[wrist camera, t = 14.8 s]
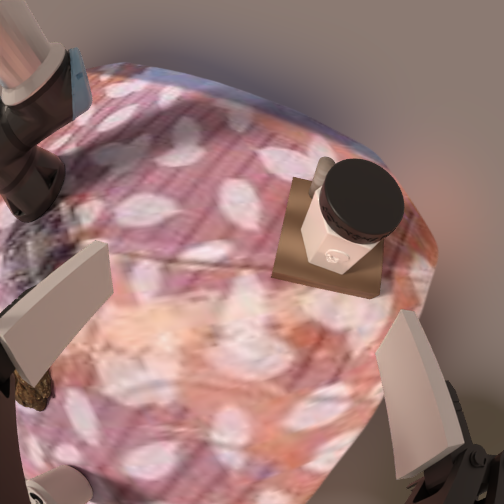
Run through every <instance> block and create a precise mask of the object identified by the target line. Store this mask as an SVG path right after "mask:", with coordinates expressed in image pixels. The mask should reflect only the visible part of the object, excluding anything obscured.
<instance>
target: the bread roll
mask: <svg viewBox="0 0 504 504" xmlns="http://www.w3.org/2000/svg"><path fill="white" fill-rule="evenodd" d="M13 374H14V375H15V400H16V401H17V402H18V403H19V404H21V405H23V406H24V407H30V408H34V409H35V410H37V411H42V410H44V409H45V407H46V404H47V398H48V397H49V396H50V393H51V386H50V381H51V380H50V375H49V372H48V370H47V371H46V373H45V374H44V375H43V377H42V378H41V379H40V381H39V382H38V383H37V385H36V386H35V387H32V386H31V385H30V384H28V383H27V382H26V381H24V380H23V379H22V378H21V376H20V375H19V373H18V372H17V370H16V369H15V371H14V372H13Z"/></svg>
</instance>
